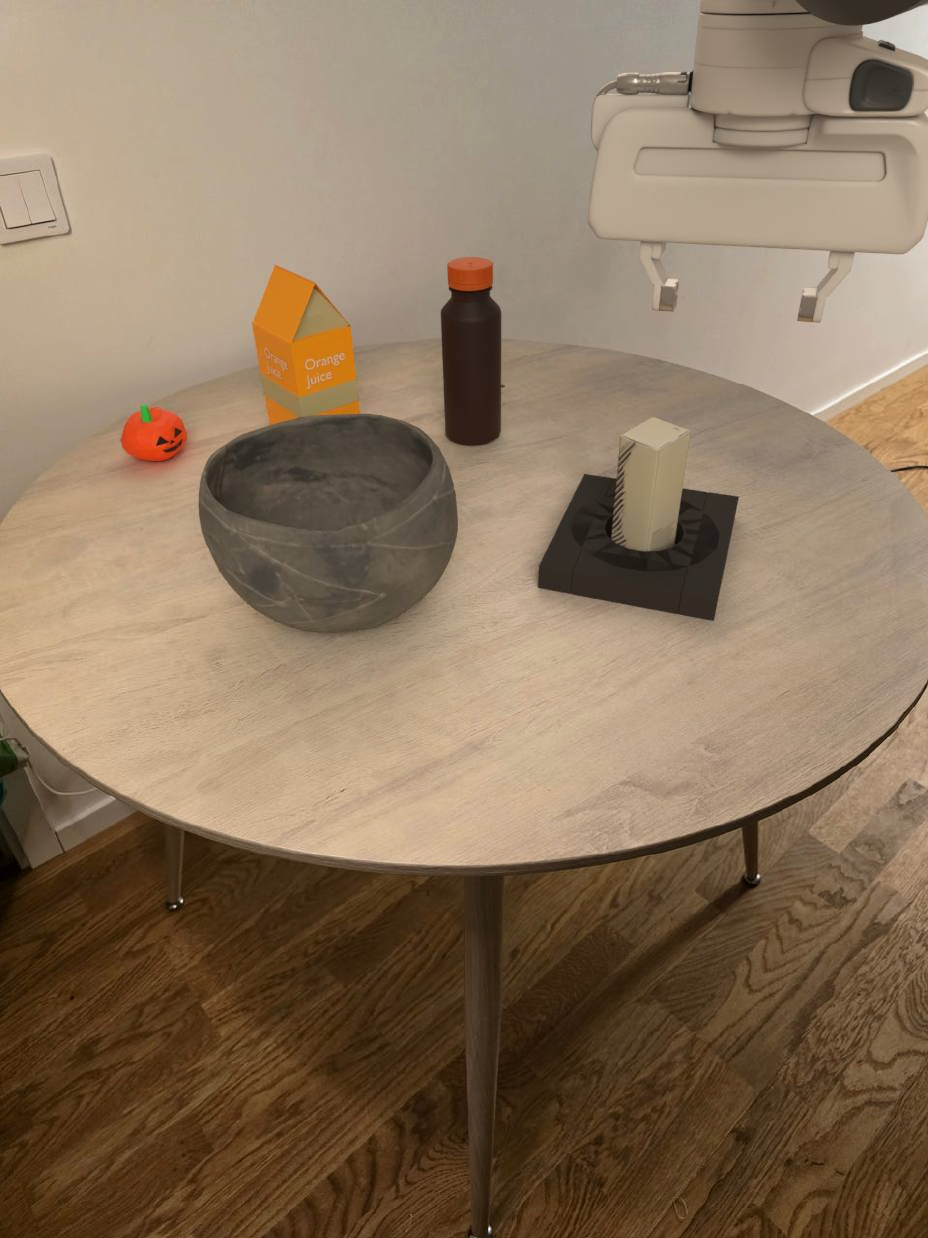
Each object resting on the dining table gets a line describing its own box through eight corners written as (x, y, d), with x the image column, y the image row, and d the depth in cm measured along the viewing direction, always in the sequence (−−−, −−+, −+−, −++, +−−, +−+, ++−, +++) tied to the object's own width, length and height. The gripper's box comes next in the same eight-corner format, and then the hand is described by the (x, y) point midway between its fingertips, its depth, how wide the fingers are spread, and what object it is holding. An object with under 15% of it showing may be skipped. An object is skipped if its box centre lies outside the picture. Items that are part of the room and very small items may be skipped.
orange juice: (308, 467, 99) (281, 290, 87) (271, 441, 105) (240, 270, 92) (365, 447, 103) (347, 274, 91) (326, 422, 108) (304, 256, 96)
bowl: (188, 596, 80) (148, 450, 71) (379, 519, 90) (365, 382, 81) (297, 722, 67) (265, 563, 58) (507, 615, 77) (508, 465, 68)
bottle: (511, 437, 104) (513, 265, 92) (463, 452, 101) (458, 276, 89) (482, 416, 109) (480, 250, 96) (435, 430, 106) (427, 260, 94)
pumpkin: (196, 438, 106) (184, 388, 102) (181, 470, 100) (168, 418, 96) (137, 440, 106) (123, 390, 102) (119, 472, 99) (103, 420, 95)
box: (639, 532, 87) (653, 413, 79) (675, 549, 85) (694, 428, 77) (606, 553, 84) (618, 432, 76) (643, 571, 82) (659, 448, 74)
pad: (734, 517, 89) (739, 496, 87) (713, 621, 76) (718, 598, 74) (582, 493, 93) (584, 473, 92) (537, 588, 80) (538, 566, 79)
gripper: (581, 78, 50) (572, 317, 59) (971, 77, 44) (898, 343, 53) (604, 66, 55) (593, 289, 63) (960, 63, 49) (896, 309, 57)
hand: (734, 314), depth 58 cm, fingers open, 8 cm apart
